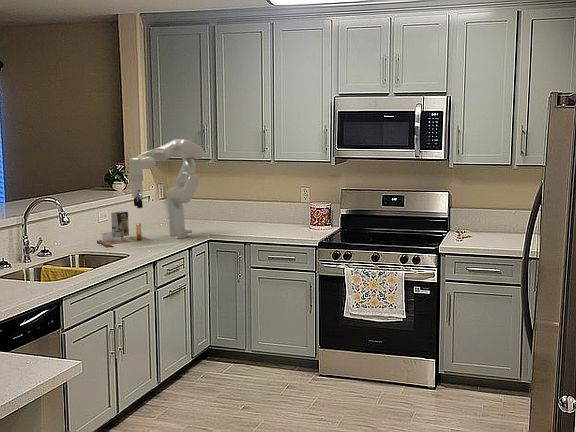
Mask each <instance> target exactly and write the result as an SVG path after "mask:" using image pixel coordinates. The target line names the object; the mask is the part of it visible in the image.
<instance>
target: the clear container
mask: <svg viewBox="0 0 576 432" xmlns="http://www.w3.org/2000/svg"><path fill="white" fill-rule="evenodd" d="M124 237H125V236H124V231H122V230H114V229H112V228H111V231H107V232H102V233H101V240H102V241H103V243H106V242H122V241H124Z"/></svg>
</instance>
